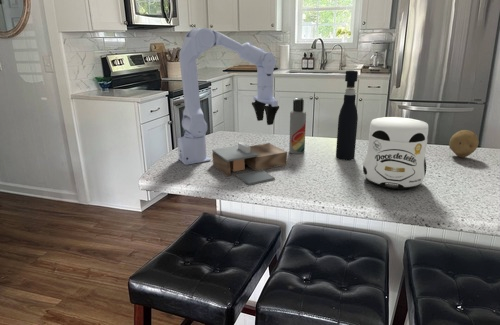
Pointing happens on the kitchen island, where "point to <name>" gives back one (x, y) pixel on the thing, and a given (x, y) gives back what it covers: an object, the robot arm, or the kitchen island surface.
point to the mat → (255, 177)
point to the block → (237, 165)
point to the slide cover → (235, 152)
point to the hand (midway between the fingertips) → (265, 122)
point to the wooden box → (256, 158)
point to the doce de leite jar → (396, 152)
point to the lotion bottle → (297, 127)
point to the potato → (463, 143)
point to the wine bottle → (347, 121)
